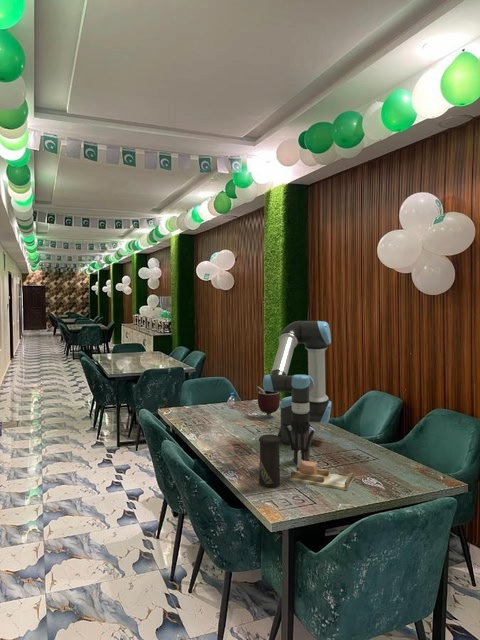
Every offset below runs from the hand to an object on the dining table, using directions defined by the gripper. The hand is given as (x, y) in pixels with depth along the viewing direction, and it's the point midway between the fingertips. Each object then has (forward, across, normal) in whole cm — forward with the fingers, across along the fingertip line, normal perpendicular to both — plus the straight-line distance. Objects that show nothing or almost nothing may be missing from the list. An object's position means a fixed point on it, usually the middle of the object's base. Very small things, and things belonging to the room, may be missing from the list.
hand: (300, 466), depth 196 cm
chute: (+4, +9, 0) cm, 10 cm away
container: (+5, -9, -13) cm, 16 cm away
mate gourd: (+5, -48, +83) cm, 96 cm away
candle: (+5, -5, +17) cm, 18 cm away
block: (+3, +4, 0) cm, 5 cm away
